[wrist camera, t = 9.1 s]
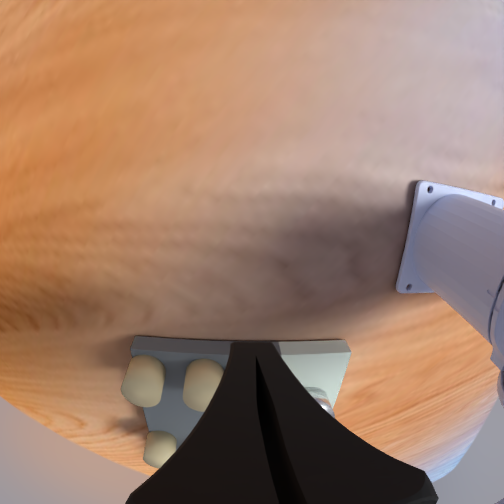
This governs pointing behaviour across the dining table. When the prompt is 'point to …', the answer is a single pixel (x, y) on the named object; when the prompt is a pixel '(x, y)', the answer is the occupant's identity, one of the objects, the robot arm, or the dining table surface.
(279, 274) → the dining table surface
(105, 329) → the dining table surface
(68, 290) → the dining table surface
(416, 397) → the dining table surface
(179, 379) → the board
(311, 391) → the steel nut
